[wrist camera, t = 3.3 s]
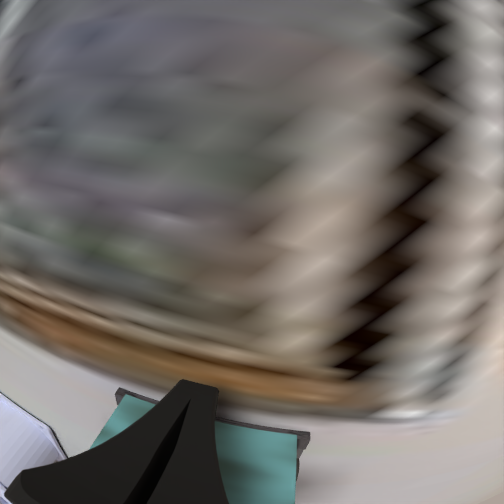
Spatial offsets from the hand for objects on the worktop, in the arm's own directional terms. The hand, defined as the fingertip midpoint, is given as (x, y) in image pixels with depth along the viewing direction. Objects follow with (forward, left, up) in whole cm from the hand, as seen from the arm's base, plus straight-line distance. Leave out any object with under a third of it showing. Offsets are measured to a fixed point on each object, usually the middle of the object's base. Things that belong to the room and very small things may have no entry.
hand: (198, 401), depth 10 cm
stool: (0, -11, -3) cm, 11 cm away
